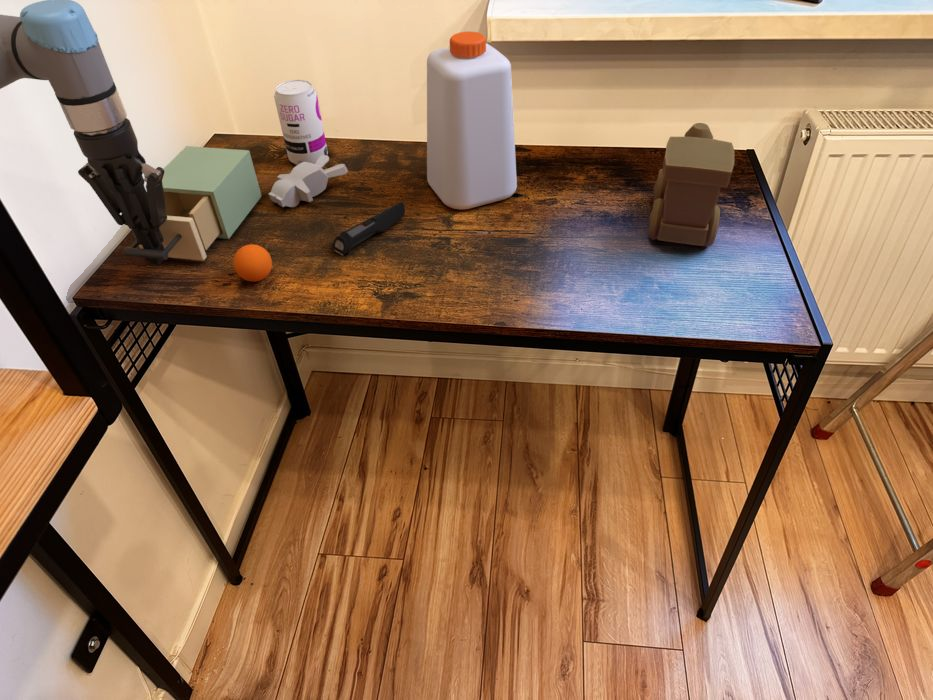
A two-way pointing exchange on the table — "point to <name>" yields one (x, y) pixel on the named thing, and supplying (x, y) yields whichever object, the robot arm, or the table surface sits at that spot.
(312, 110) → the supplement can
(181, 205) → the drawer
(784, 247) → the table surface
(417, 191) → the table surface
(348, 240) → the electric trimmer
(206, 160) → the cabinet
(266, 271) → the ball
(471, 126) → the plastic bottle
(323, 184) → the bunny figurine
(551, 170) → the table surface
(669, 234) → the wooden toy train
